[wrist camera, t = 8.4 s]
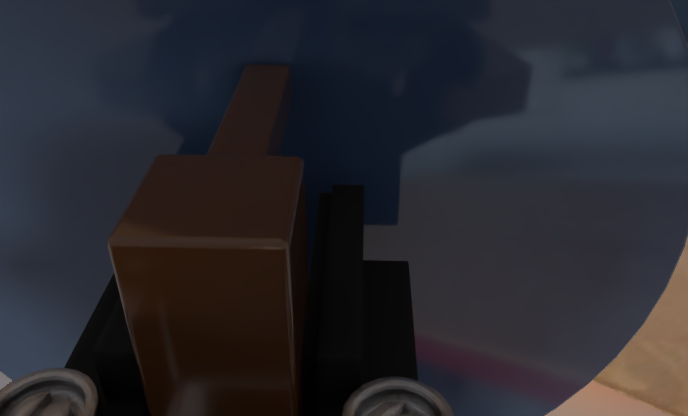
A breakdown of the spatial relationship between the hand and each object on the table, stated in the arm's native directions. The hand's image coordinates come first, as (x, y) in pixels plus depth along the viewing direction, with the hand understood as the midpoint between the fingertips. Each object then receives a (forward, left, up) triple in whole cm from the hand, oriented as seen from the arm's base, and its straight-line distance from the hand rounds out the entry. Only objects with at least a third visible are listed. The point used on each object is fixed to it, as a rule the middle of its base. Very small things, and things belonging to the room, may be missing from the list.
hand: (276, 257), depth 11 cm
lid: (0, 0, -1) cm, 1 cm away
